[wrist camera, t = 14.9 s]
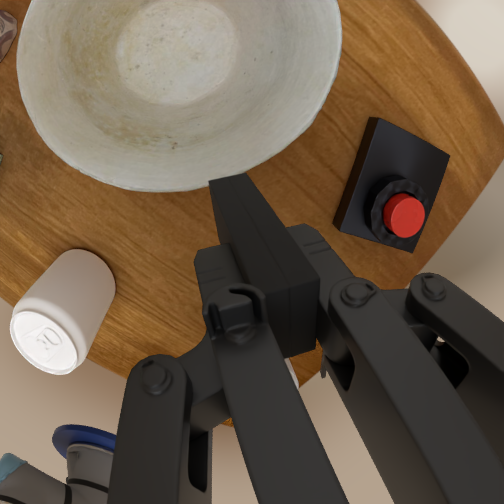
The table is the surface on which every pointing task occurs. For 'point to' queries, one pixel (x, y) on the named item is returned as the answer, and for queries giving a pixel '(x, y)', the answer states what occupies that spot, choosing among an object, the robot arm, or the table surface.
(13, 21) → the figurine
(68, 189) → the table surface
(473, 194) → the table surface
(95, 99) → the bowl
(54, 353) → the beverage can
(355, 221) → the button base
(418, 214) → the button
